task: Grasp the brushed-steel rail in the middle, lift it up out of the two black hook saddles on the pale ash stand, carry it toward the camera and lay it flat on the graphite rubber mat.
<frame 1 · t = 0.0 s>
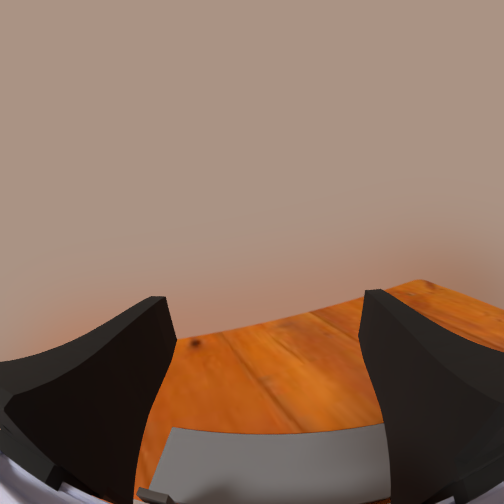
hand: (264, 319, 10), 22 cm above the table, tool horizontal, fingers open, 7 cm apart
mat: (295, 472, 20), on the table
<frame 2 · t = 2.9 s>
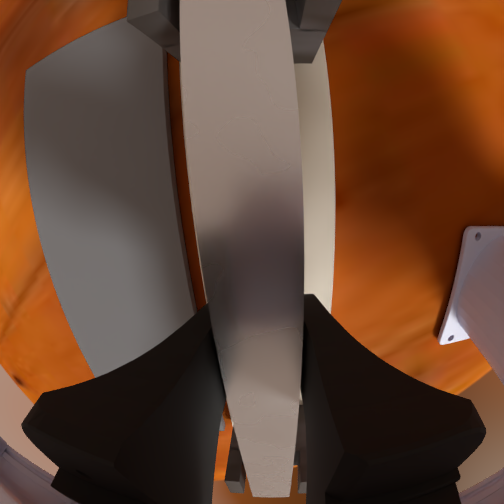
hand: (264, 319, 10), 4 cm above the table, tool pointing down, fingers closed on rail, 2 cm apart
mat: (110, 272, 14), on the table
rail: (264, 328, 9), point 5 cm above the table, touching gripper, hook stand
hook stand: (268, 268, 14), on the table
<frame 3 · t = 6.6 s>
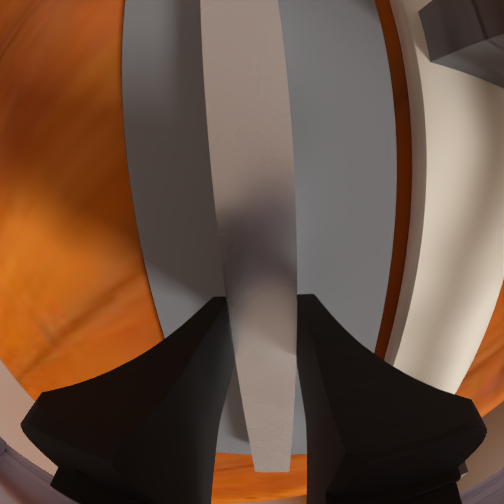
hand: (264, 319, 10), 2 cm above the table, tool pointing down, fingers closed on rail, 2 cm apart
mat: (268, 290, 11), on the table
rail: (266, 297, 11), point 1 cm above the table, touching gripper, mat
hook stand: (451, 277, 11), on the table
when the fingers open (1 cm above the table, at t = 7.1 s): rail stays where it is, resting on mat.
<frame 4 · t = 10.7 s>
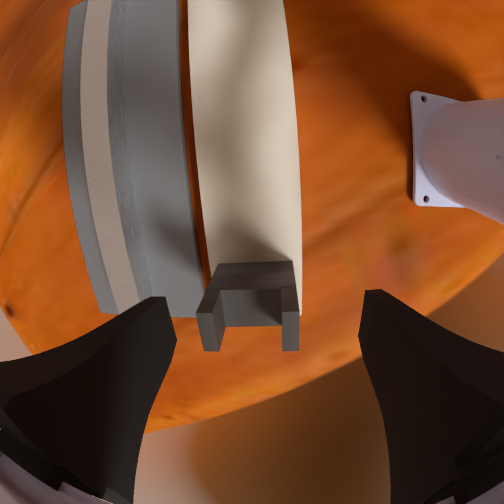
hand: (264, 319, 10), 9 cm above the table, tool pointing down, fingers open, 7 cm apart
mat: (118, 136, 16), on the table
rail: (113, 136, 16), point 1 cm above the table, touching mat
hook stand: (245, 114, 15), on the table
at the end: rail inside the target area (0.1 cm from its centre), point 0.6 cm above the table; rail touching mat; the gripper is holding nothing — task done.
